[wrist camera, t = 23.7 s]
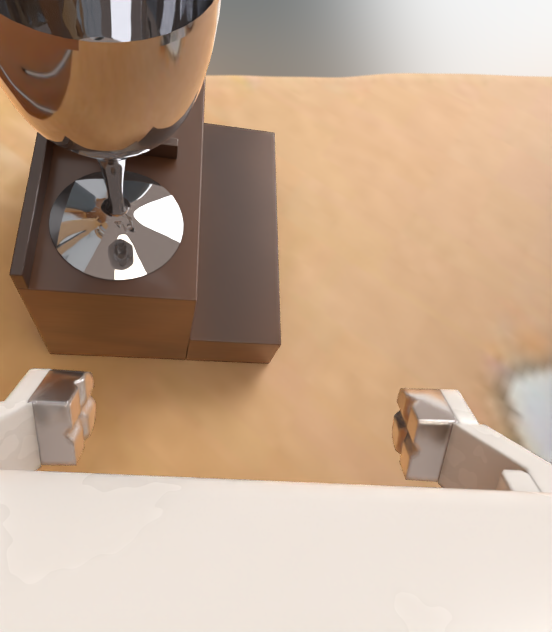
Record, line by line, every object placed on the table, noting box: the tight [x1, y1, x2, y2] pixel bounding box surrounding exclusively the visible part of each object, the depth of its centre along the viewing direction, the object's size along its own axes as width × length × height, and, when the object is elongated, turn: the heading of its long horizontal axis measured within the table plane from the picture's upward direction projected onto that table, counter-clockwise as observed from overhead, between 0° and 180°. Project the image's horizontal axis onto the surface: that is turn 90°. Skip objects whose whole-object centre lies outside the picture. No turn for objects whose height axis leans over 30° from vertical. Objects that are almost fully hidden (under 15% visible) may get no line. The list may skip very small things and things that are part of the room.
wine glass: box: [0, 0, 221, 281], centre depth 22 cm, size 8×8×15 cm
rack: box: [10, 78, 281, 363], centre depth 35 cm, size 15×18×12 cm
